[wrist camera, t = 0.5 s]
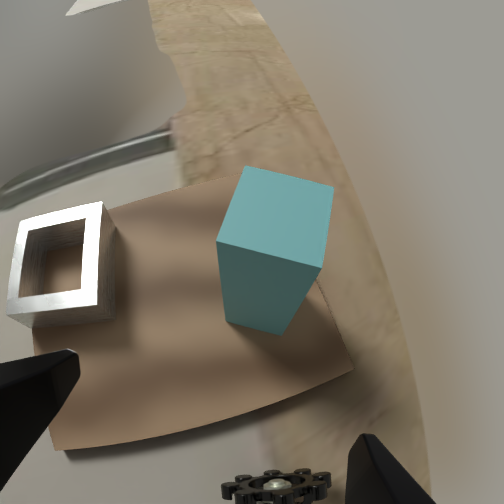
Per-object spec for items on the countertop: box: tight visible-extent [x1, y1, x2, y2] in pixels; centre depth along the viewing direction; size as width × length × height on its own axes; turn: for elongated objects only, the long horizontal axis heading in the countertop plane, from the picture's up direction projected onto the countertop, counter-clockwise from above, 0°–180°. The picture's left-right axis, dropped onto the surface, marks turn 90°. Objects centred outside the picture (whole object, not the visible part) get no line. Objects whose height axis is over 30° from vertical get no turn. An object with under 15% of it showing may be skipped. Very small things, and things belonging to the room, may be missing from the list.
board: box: [32, 173, 355, 451], centre depth 22 cm, size 19×23×1 cm
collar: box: [6, 202, 116, 328], centre depth 20 cm, size 8×8×4 cm
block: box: [216, 166, 334, 336], centre depth 17 cm, size 4×4×11 cm
